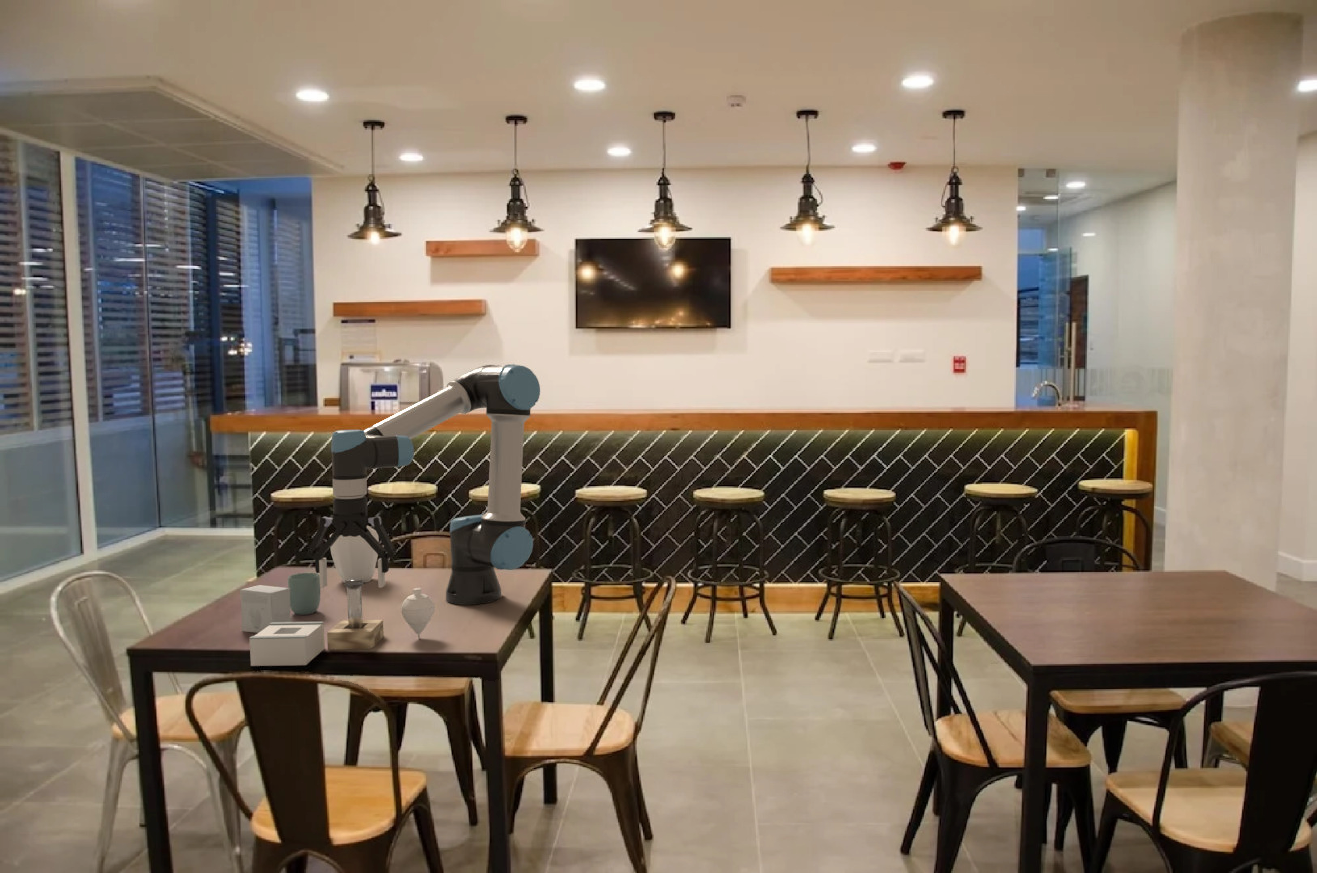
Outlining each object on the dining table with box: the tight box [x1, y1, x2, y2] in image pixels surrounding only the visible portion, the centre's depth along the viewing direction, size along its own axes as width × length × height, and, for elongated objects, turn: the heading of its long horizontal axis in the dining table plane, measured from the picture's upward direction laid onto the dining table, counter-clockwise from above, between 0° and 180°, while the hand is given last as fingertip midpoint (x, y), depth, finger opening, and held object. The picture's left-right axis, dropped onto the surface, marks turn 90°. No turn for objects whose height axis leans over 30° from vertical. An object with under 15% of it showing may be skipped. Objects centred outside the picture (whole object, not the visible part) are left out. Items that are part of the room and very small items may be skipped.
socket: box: [249, 621, 326, 667], centre depth 212 cm, size 12×12×6 cm
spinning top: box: [400, 587, 435, 639], centre depth 225 cm, size 8×8×12 cm
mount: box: [326, 619, 385, 650], centre depth 222 cm, size 10×10×4 cm
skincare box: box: [239, 584, 292, 634], centre depth 233 cm, size 10×6×10 cm, turn 66°
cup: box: [287, 572, 321, 616], centre depth 248 cm, size 8×8×10 cm
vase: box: [329, 524, 380, 584], centre depth 284 cm, size 14×14×25 cm
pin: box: [344, 578, 364, 629], centre depth 221 cm, size 4×4×15 cm
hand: (352, 586), depth 221 cm, fingers open, 13 cm apart
